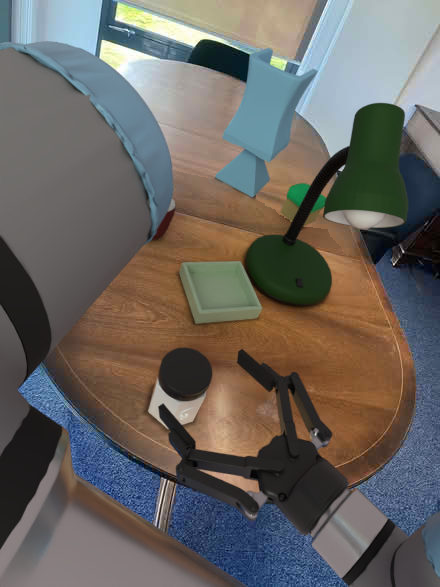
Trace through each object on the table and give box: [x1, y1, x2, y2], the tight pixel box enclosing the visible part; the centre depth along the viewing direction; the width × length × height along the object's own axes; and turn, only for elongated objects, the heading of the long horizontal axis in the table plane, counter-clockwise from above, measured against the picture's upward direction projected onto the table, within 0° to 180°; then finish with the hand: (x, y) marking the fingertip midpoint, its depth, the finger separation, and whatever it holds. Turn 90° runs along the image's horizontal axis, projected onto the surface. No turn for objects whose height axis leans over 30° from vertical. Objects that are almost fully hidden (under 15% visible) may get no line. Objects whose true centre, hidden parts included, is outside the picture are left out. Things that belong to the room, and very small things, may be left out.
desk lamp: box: [244, 102, 410, 308], centre depth 80 cm, size 31×23×45 cm
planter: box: [214, 47, 319, 198], centre depth 113 cm, size 16×16×35 cm
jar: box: [147, 347, 213, 430], centre depth 63 cm, size 9×8×12 cm
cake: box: [279, 182, 327, 227], centre depth 116 cm, size 10×11×10 cm
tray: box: [178, 260, 264, 325], centre depth 86 cm, size 15×15×4 cm
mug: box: [151, 197, 177, 241], centre depth 91 cm, size 10×8×10 cm
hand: (202, 381), depth 52 cm, fingers open, 13 cm apart
